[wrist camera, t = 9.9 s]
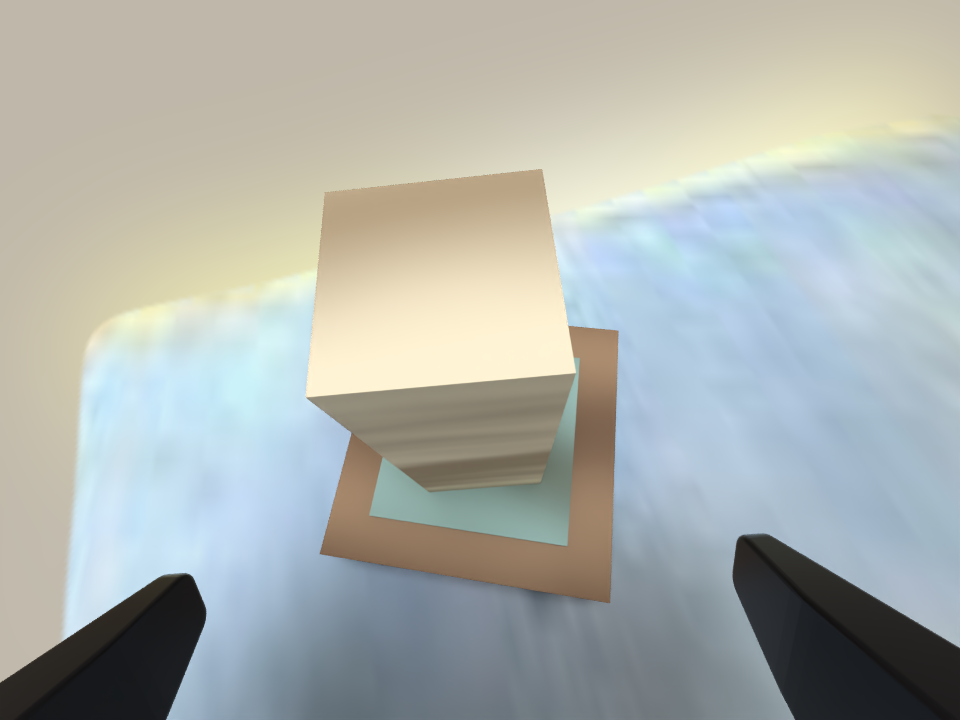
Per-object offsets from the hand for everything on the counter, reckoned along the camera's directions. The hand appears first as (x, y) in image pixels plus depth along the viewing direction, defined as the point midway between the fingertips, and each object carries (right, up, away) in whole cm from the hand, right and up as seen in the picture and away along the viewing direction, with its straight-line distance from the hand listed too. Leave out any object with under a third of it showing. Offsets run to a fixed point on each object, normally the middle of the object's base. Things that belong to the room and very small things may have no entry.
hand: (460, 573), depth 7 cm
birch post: (0, +1, +10) cm, 10 cm away
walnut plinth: (+1, -1, +13) cm, 13 cm away
